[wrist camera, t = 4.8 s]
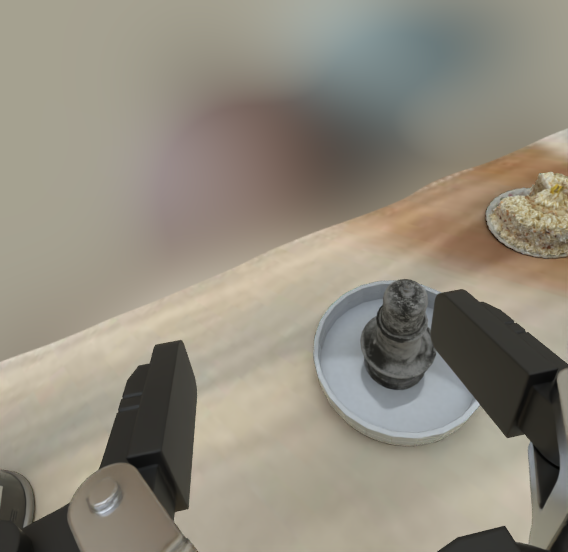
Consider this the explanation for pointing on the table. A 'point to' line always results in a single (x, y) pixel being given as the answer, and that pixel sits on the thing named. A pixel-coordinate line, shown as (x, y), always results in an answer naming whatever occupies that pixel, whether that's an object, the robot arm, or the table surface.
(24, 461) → the table surface
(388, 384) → the dark grey chess piece
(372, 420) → the tin
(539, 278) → the table surface
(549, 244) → the cake
